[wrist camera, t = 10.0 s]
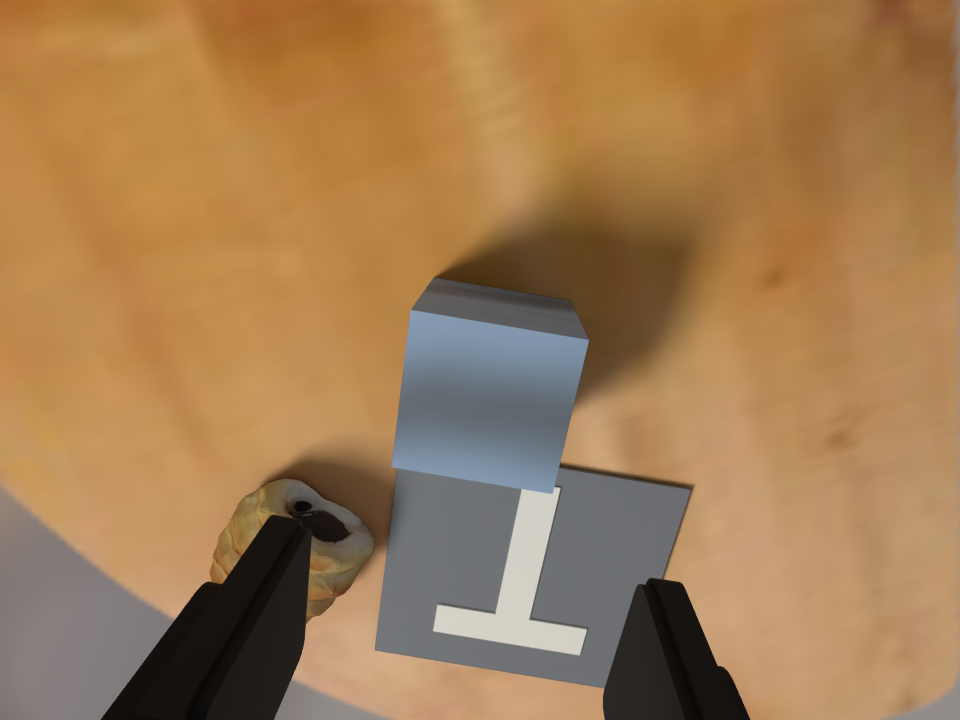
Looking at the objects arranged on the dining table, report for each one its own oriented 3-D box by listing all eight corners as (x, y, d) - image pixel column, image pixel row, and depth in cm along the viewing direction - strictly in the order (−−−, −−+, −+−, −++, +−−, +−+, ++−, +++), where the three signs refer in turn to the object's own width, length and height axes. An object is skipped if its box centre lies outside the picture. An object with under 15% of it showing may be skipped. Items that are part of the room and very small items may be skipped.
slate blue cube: (434, 277, 24) (410, 309, 18) (570, 300, 24) (589, 340, 18) (417, 402, 26) (391, 467, 20) (543, 423, 26) (552, 494, 20)
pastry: (296, 637, 31) (267, 698, 28) (190, 574, 30) (147, 628, 27) (388, 526, 28) (370, 578, 25) (276, 453, 27) (240, 495, 24)
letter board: (401, 440, 27) (400, 442, 26) (689, 487, 27) (691, 491, 26) (375, 647, 31) (374, 652, 30) (624, 688, 31) (625, 693, 31)
